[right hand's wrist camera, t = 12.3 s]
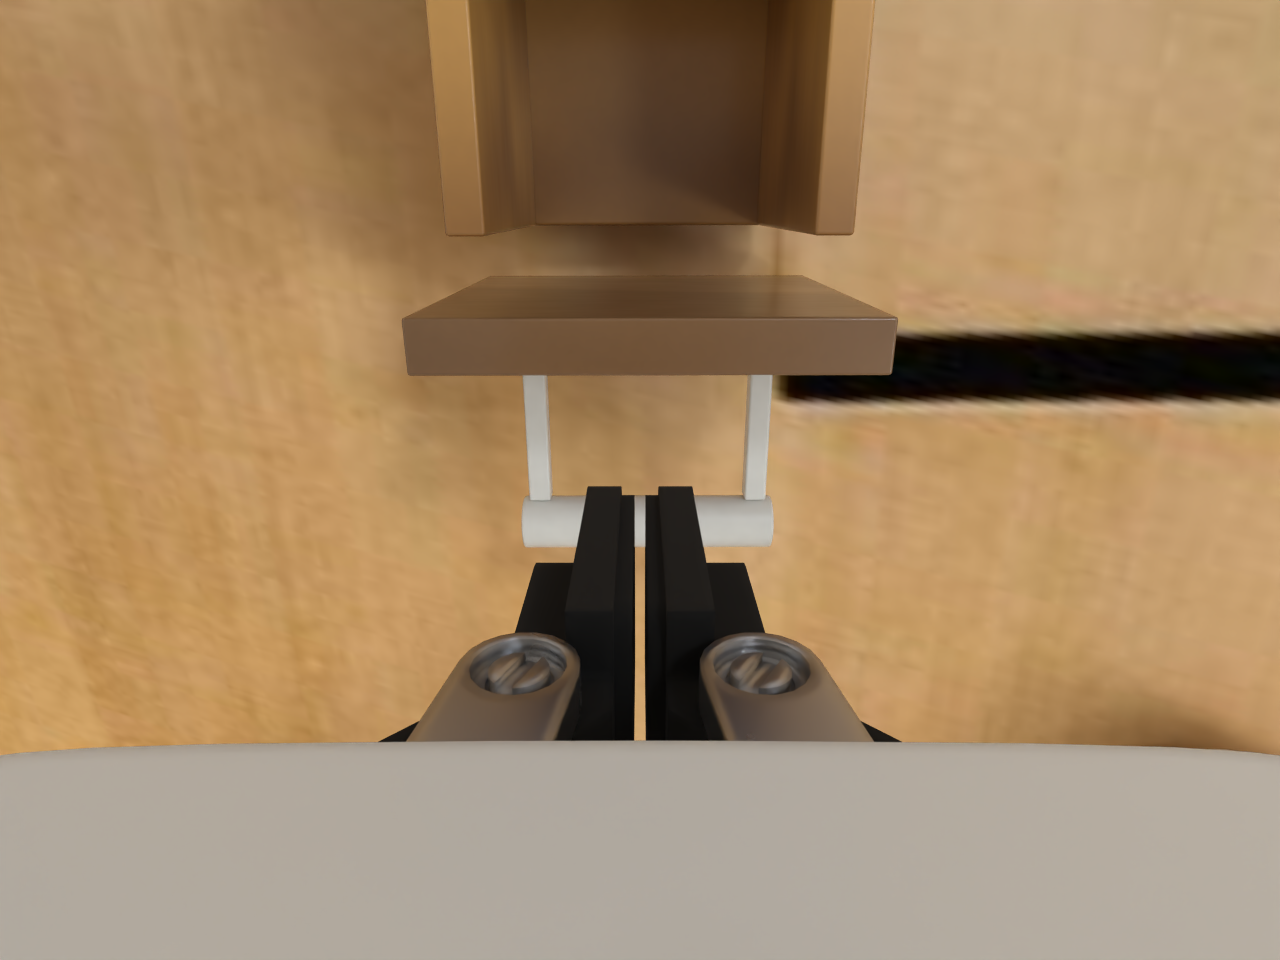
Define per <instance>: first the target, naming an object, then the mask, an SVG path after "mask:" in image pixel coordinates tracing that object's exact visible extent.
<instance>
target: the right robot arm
mask: <svg viewBox="0 0 1280 960" xmlns="http://www.w3.org/2000/svg"><path fill="white" fill-rule="evenodd" d="M634 708H635V495H622V488H621V486H588V488H587V494H586V499H585V504H584V510H583V515H582V521H581V526H580V531H579V537H578V542H577V548H576V553H575V558H574V563H536V564H535V566H534V569H533V573H532V576H531V580H530V583H529V586H528V590H527V593H526V597H525V600H524V604H523V607H522V610H521V614H520V617H519V621H518V624H517V628H516V631H515V633H513V634H507V635H501V636H498V637H495V638H492V639H489V640H486V641H483V642H482V643H480V644H478V645H477V646H475V647H473V648H472V649H470V650H469V651H468V652H467V653H466V654H465V655H464V656H463V657H462V658H461V659H460V661H459V662H458V664H457V665H456V667H455V668H454V670H453V671H452V673H451V674H450V676H449V677H448V679H447V680H446V682H445V683H444V685H443V686H442V688H441V689H440V691H439V692H438V694H437V695H436V697H435V698H434V700H433V701H432V703H431V704H430V706H429V708H428V709H427V711H426V712H425V714H424V715H423V717H422V718H421V720H420V721H418V722H416V723H414V724H412V725H411V726H409V727H407V728H405V729H403V730H401V731H399V732H397V733H395V734H393V735H391V736H389V737H387V738H385V739H383V740H381V741H379V742H350V743H258V744H200V745H168V746H136V747H103V748H82V749H68V750H54V751H40V752H26V753H15V754H8V755H0V960H1280V755H1271V754H1263V753H1255V752H1243V751H1227V750H1211V749H1195V748H1179V747H1148V746H1111V745H1074V744H1037V743H930V742H901V741H899V740H897V739H895V738H893V737H891V736H889V735H887V734H885V733H883V732H881V731H879V730H877V729H875V728H873V727H871V726H869V725H867V724H866V723H864V722H862V721H860V720H859V718H858V717H857V715H856V714H855V712H854V711H853V709H852V708H851V706H850V704H849V703H848V701H847V700H846V698H845V697H844V695H843V694H842V692H841V691H840V689H839V688H838V686H837V685H836V683H835V682H834V680H833V679H832V677H831V676H830V674H829V673H828V671H827V670H826V668H825V667H824V665H823V664H822V662H821V661H820V659H819V658H818V657H817V656H816V655H815V654H814V653H813V652H812V651H811V650H810V649H808V648H807V647H805V646H803V645H802V644H800V643H798V642H797V641H794V640H791V639H788V638H785V637H782V636H779V635H773V634H767V633H765V631H764V628H763V624H762V621H761V617H760V614H759V610H758V607H757V604H756V600H755V597H754V593H753V590H752V586H751V583H750V580H749V576H748V573H747V569H746V566H745V564H744V563H706V558H705V553H704V548H703V542H702V537H701V531H700V526H699V521H698V515H697V510H696V504H695V499H694V494H693V488H692V486H659V488H658V495H645V708H646V741H634Z"/></svg>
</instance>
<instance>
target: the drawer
mask: <svg viewBox="0 0 1280 960" xmlns="http://www.w3.org/2000/svg"><path fill="white" fill-rule="evenodd" d="M425 3H426V14H427V26H428V37H429V48H430V60H431V71H432V83H433V94H434V106H435V117H436V128H437V140H438V151H439V163H440V174H441V186H442V197H443V209H444V220H445V231H446V235H447V236H486V235H490V234H495V233H500V232H505V231H510V230H515V229H520V228H525V227H529V226H534V225H762V226H768V227H773V228H779V229H785V230H790V231H796V232H802V233H807V234H813V235H852V234H853V232H854V226H855V215H856V204H857V193H858V182H859V171H860V161H861V150H862V139H863V128H864V117H865V106H866V95H867V84H868V73H869V63H870V52H871V41H872V30H873V19H874V8H875V0H425ZM897 324H898V318H897V317H895V316H893V315H890V314H888V313H886V312H883V311H881V310H879V309H877V308H874V307H872V306H870V305H868V304H865V303H863V302H861V301H859V300H856V299H854V298H852V297H850V296H847V295H845V294H843V293H841V292H838V291H836V290H834V289H831V288H829V287H827V286H825V285H822V284H820V283H818V282H816V281H813V280H811V279H809V278H807V277H804V276H490V277H488V278H486V279H484V280H482V281H479V282H477V283H475V284H473V285H471V286H469V287H467V288H465V289H463V290H461V291H459V292H457V293H455V294H453V295H451V296H448V297H446V298H444V299H442V300H440V301H438V302H436V303H434V304H432V305H430V306H428V307H426V308H424V309H422V310H419V311H417V312H415V313H413V314H411V315H409V316H407V317H405V318H403V319H402V327H403V336H404V345H405V354H406V363H407V372H408V375H410V376H523V389H524V407H525V424H526V442H527V459H528V476H529V494H530V496H526V497H525V498H524V501H523V507H522V537H523V543H524V545H525V547H577V542H578V537H579V531H580V526H581V521H582V515H583V510H584V504H585V499H586V496H552V493H553V489H552V467H551V445H550V423H549V401H548V379H547V375H748V380H747V401H746V422H745V442H744V463H743V484H742V493H743V495H694V499H695V504H696V510H697V515H698V521H699V526H700V531H701V537H702V542H703V547H769V546H770V545H771V543H772V538H773V527H774V518H773V506H772V501H771V498H770V496H768V495H765V493H766V476H767V460H768V443H769V426H770V409H771V393H772V376H773V375H889V374H891V373H892V367H893V358H894V350H895V341H896V332H897ZM635 547H645V495H635Z"/></svg>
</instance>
